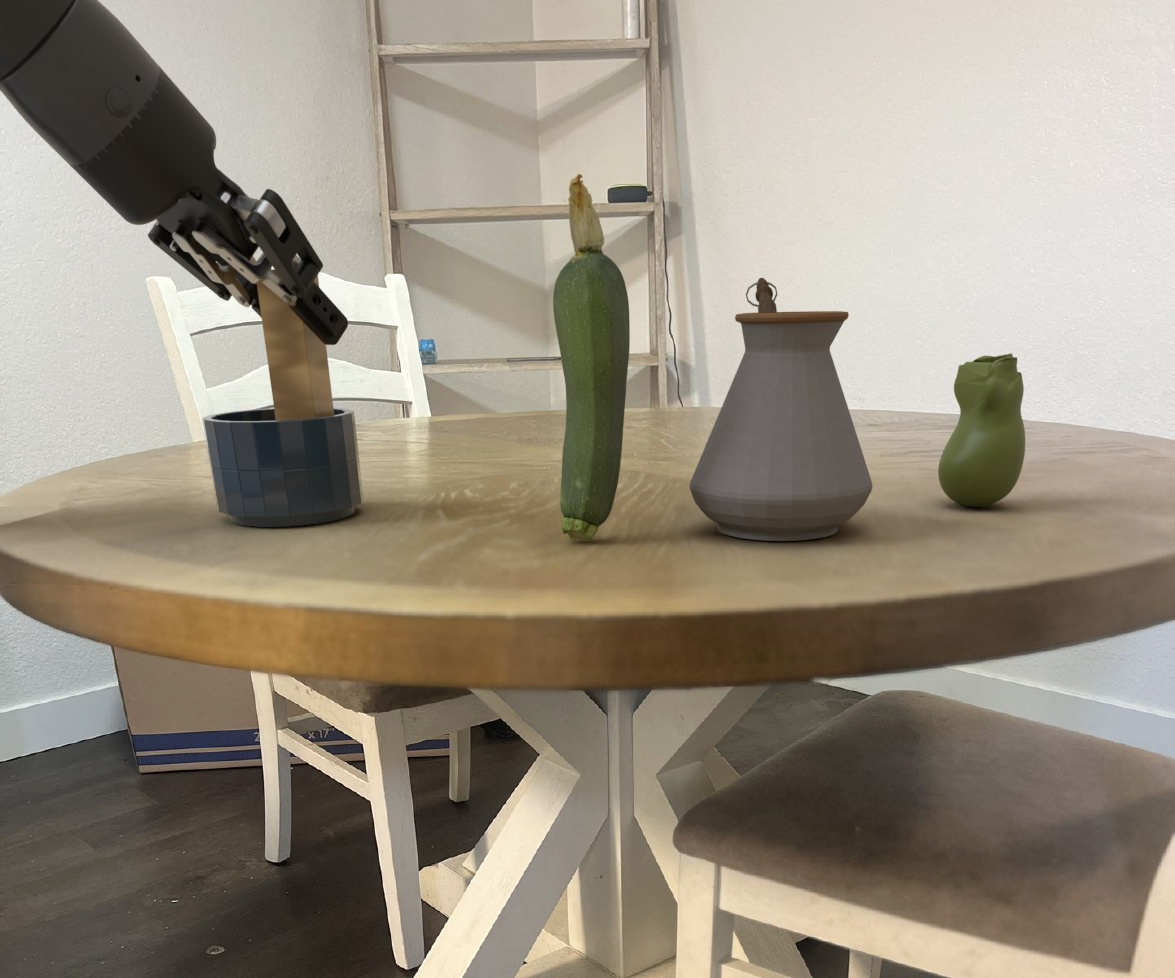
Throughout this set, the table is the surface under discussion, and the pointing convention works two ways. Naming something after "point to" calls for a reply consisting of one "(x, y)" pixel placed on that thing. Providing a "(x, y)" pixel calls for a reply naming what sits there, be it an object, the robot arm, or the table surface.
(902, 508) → the table surface
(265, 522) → the bowl
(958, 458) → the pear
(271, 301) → the long rectangular wooden block
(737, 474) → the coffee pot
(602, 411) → the vegetable
